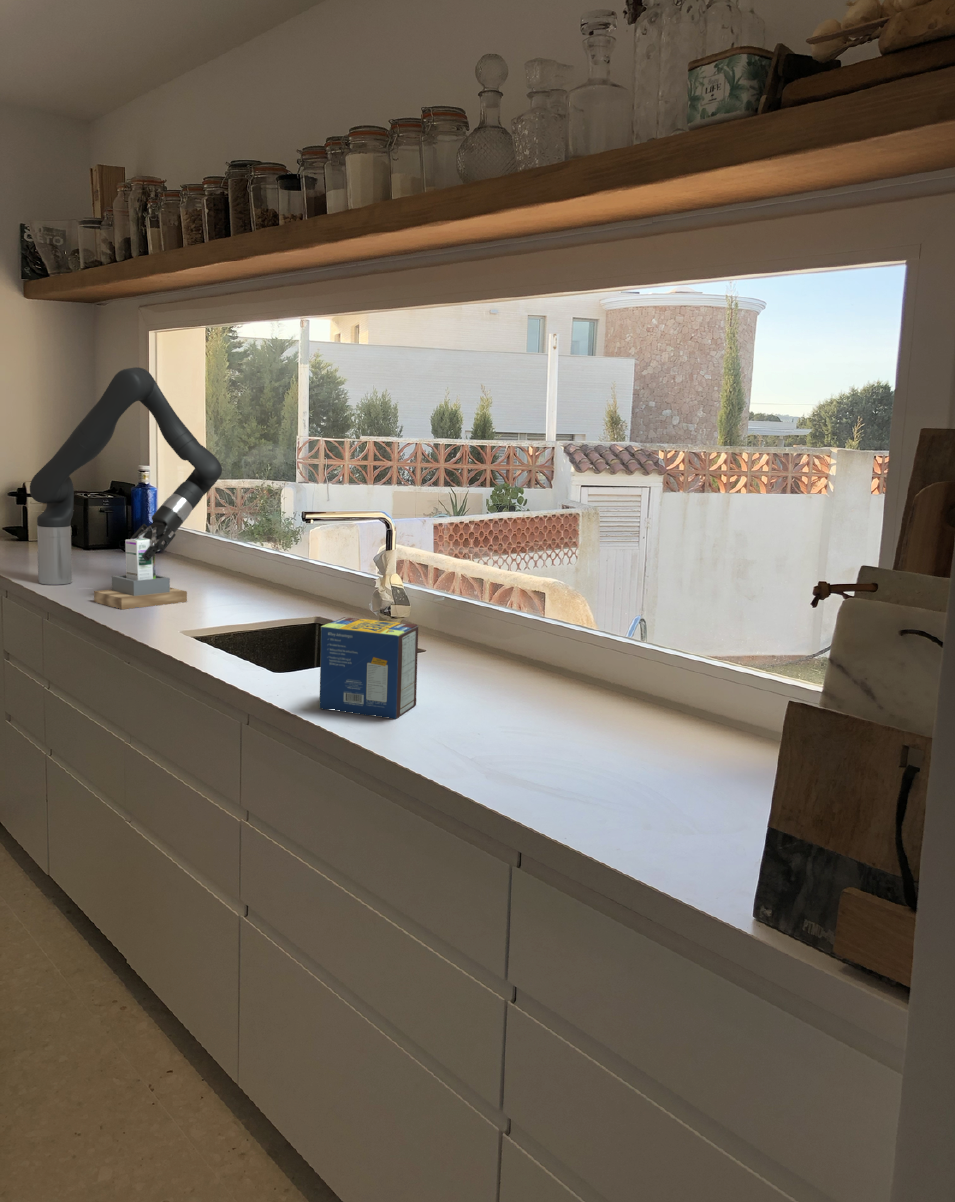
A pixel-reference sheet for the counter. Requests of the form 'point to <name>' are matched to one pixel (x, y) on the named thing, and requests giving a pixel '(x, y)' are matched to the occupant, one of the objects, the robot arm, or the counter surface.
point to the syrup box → (139, 560)
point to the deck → (138, 598)
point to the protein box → (368, 667)
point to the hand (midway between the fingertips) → (136, 556)
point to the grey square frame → (140, 585)
